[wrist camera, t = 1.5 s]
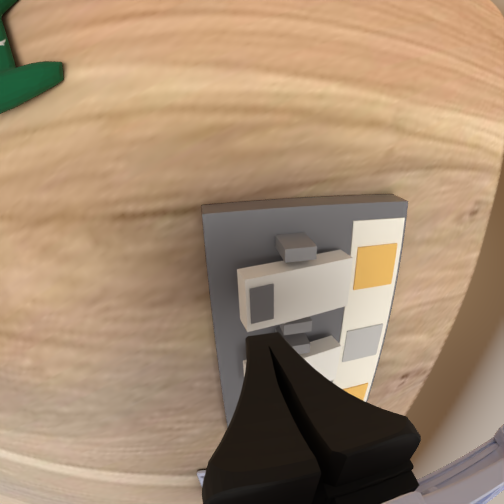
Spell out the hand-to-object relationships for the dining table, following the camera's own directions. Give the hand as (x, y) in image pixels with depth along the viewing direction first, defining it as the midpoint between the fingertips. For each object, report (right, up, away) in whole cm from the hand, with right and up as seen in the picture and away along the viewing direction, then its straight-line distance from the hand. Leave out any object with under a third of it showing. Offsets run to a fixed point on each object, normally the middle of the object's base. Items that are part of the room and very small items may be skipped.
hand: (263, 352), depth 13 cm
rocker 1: (+2, +2, +4) cm, 5 cm away
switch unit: (+3, -2, +10) cm, 10 cm away
